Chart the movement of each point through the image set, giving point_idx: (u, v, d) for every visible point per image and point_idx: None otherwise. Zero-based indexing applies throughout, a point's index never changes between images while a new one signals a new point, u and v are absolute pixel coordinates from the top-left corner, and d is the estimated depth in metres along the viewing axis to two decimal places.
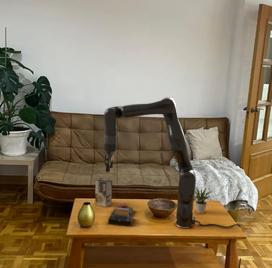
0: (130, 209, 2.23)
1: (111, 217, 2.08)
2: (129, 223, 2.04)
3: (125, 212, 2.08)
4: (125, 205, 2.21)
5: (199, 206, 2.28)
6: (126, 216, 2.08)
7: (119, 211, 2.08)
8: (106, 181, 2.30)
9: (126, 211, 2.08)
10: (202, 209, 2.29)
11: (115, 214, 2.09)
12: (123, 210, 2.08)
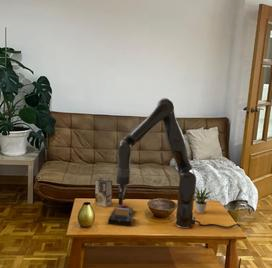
0: (130, 209, 2.23)
1: (111, 217, 2.08)
2: (129, 223, 2.04)
3: (125, 212, 2.08)
4: (125, 205, 2.21)
5: (199, 206, 2.28)
6: (126, 216, 2.08)
7: (119, 211, 2.08)
8: (106, 181, 2.30)
9: (126, 211, 2.08)
10: (202, 209, 2.29)
11: (115, 214, 2.09)
12: (123, 210, 2.08)
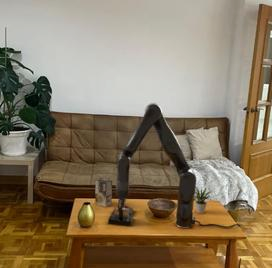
0: (130, 209, 2.23)
1: (111, 217, 2.08)
2: (129, 223, 2.04)
3: (125, 212, 2.08)
4: (125, 205, 2.21)
5: (199, 206, 2.28)
6: (126, 216, 2.08)
7: None
8: (106, 181, 2.30)
9: (126, 211, 2.08)
10: (202, 209, 2.29)
11: (115, 214, 2.09)
12: None
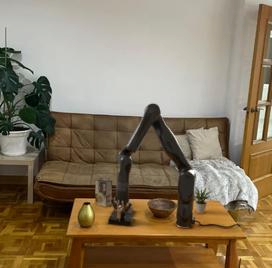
0: (130, 209, 2.23)
1: (111, 217, 2.08)
2: (129, 223, 2.04)
3: None
4: None
5: (199, 206, 2.28)
6: None
7: (122, 211, 2.08)
8: (106, 181, 2.30)
9: None
10: (202, 209, 2.29)
11: (120, 216, 2.06)
12: None
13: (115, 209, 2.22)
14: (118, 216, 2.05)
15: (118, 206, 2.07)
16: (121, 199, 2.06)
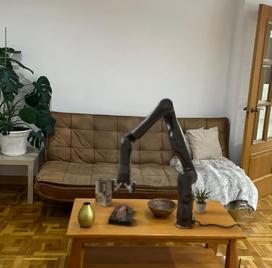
0: (130, 209, 2.23)
1: (111, 217, 2.08)
2: (129, 223, 2.04)
3: (125, 209, 2.11)
4: (125, 205, 2.21)
5: (199, 206, 2.28)
6: (125, 213, 2.12)
7: (122, 211, 2.08)
8: (106, 181, 2.30)
9: (125, 208, 2.11)
10: (202, 209, 2.29)
11: (120, 216, 2.06)
12: (124, 209, 2.10)
13: (115, 209, 2.22)
14: (118, 216, 2.05)
15: (117, 187, 2.14)
16: (123, 182, 2.13)
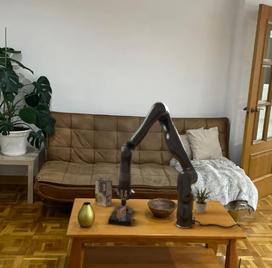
0: (130, 209, 2.23)
1: (111, 217, 2.08)
2: (129, 223, 2.04)
3: (125, 209, 2.11)
4: (125, 206, 2.21)
5: (199, 206, 2.28)
6: (125, 213, 2.12)
7: (122, 211, 2.08)
8: (106, 181, 2.30)
9: (125, 208, 2.11)
10: (202, 209, 2.29)
11: (120, 216, 2.06)
12: (124, 209, 2.10)
13: (115, 209, 2.22)
14: (118, 216, 2.05)
15: (122, 196, 2.19)
16: (124, 189, 2.19)
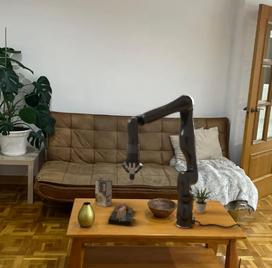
0: (130, 209, 2.23)
1: (111, 217, 2.08)
2: (129, 223, 2.04)
3: (125, 209, 2.11)
4: (125, 205, 2.21)
5: (199, 206, 2.28)
6: (125, 213, 2.12)
7: (122, 211, 2.08)
8: (106, 181, 2.30)
9: (125, 208, 2.11)
10: (202, 209, 2.29)
11: (120, 216, 2.06)
12: (124, 209, 2.10)
13: (115, 209, 2.22)
14: (118, 216, 2.05)
15: (130, 169, 2.12)
16: (132, 162, 2.12)
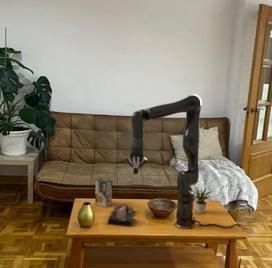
0: (130, 209, 2.23)
1: (111, 217, 2.08)
2: (129, 223, 2.04)
3: (125, 209, 2.11)
4: (125, 205, 2.21)
5: (199, 206, 2.28)
6: (125, 213, 2.12)
7: (122, 211, 2.08)
8: (106, 181, 2.30)
9: (125, 208, 2.11)
10: (202, 209, 2.29)
11: (120, 216, 2.06)
12: (124, 209, 2.10)
13: (115, 209, 2.22)
14: (118, 216, 2.05)
15: (134, 163, 2.10)
16: (136, 156, 2.09)
